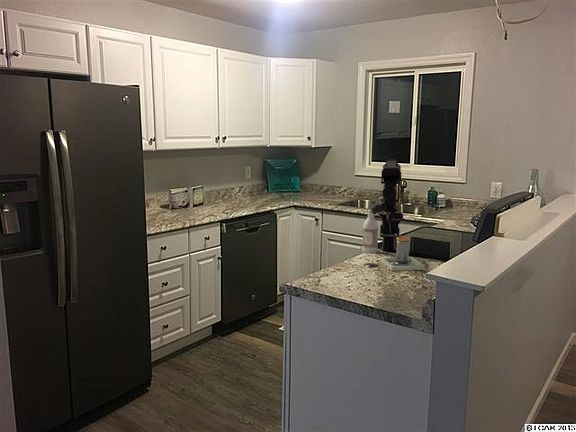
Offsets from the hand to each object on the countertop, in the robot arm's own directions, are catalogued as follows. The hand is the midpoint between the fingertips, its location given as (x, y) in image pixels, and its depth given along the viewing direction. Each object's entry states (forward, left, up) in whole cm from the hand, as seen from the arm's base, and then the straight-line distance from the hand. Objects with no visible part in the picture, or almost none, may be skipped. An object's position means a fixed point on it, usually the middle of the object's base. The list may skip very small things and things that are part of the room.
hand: (388, 232), depth 201 cm
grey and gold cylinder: (+10, +3, -12) cm, 16 cm away
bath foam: (-17, -3, -13) cm, 22 cm away
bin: (+10, +3, -13) cm, 17 cm away
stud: (+9, -10, -13) cm, 19 cm away
